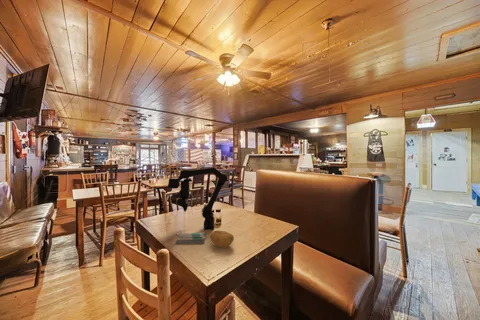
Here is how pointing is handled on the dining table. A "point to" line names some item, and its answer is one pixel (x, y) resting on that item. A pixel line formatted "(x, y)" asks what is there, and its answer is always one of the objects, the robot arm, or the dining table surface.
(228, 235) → the potato
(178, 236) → the tong arm
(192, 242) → the slate board
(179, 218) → the dining table surface
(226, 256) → the dining table surface
